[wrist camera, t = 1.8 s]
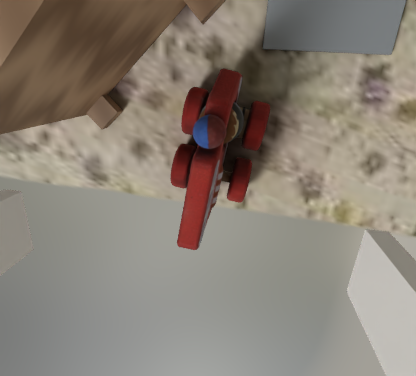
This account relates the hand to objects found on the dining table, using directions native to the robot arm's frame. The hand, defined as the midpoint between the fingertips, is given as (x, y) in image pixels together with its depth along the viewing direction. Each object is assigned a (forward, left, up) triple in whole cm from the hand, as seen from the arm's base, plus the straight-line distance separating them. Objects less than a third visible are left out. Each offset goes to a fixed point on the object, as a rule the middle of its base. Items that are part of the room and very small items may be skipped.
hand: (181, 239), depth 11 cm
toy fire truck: (0, 0, -18) cm, 18 cm away
